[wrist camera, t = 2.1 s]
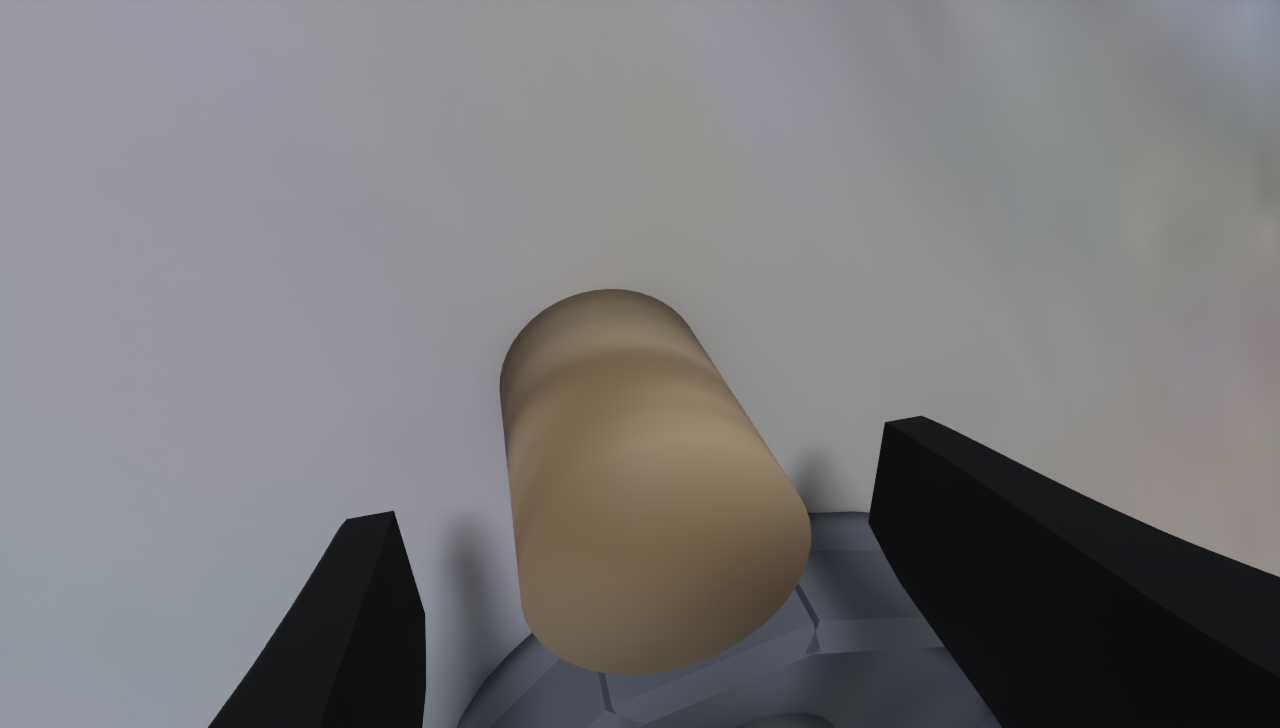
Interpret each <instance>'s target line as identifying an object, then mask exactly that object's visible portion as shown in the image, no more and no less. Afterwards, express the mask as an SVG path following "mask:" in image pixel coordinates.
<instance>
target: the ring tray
mask: <svg viewBox="0 0 1280 728" xmlns="http://www.w3.org/2000/svg"><path fill="white" fill-rule="evenodd" d="M869 515H870V513H866V512H833V513H811V514H808V516H809V519H810V526H811V547H810V552H809V557H808V561H807V564H806V567H805V569H804V572H803V574H802V576H801V578H800V580H799V582H798V584H797V586H796V588H795V589H794V591H793V592H792V594H791V595H790V597H789V598H788V599H787V601H786V602H785V603H784V604H783V605H782V607H781V608H780V609H779V610H778V611H777V612H776V613H775V614H774V615H773V616H772V617H771V618H770V619H769V620H768V621H767V622H766V623H765V624H764V625H762V626H761V627H760V628H759V629H758V630H756V631H755V632H754V633H753V634H751V635H750V636H748V637H747V638H745V639H744V640H742V641H741V642H739V643H738V644H736V645H734V646H732V647H731V648H729V649H727V650H725V651H724V652H721V653H719V654H717V655H715V656H713V657H711V658H709V659H706V660H703V661H701V662H698V663H695V664H692V665H689V666H686V667H682V668H678V669H675V670H670V671H665V672H660V673H652V674H643V675H618V674H606V673H601V672H596V671H591V670H588V669H584V668H581V667H578V666H575V665H573V664H571V663H569V662H567V661H564V660H562V659H561V658H559V657H558V656H556V655H555V654H553V653H552V652H550V651H549V650H548V649H547V648H546V647H545V646H544V645H542V644H541V643H540V641H539V640H538V639H537V638H536V636H535V635H534V634H533V633H532V634H531V635H530V636H528V637H527V638H526V639H525V640H524V641H523V642H522V643H521V644H520V645H518V646H517V647H516V648H515V649H514V650H513V651H512V652H511V653H510V654H509V655H508V656H507V657H506V658H505V659H504V660H503V662H502V663H501V664H500V665H499V666H498V667H497V668H496V670H495V671H494V672H493V673H492V674H491V675H490V676H489V678H488V679H487V680H486V681H485V682H484V683H483V684H482V686H481V687H480V689H479V690H478V692H477V694H476V695H475V697H474V698H473V700H472V701H471V703H470V704H469V706H468V707H467V709H466V710H465V712H464V713H463V715H462V717H461V719H460V721H459V724H458V726H457V728H1002V727H1001V725H1000V724H999V722H998V721H997V719H996V718H995V716H994V715H993V713H992V712H991V710H990V709H989V708H988V706H987V705H986V703H985V702H984V701H983V699H982V698H981V696H980V695H979V694H978V692H977V691H976V689H975V688H974V687H973V685H972V684H971V682H970V681H969V680H968V678H967V677H966V675H965V674H964V673H963V671H962V670H961V668H960V667H959V666H958V664H957V663H956V661H955V660H954V659H953V657H952V656H951V655H950V653H949V652H948V650H947V649H946V648H945V646H944V645H943V643H942V642H941V641H940V639H939V638H938V636H937V635H936V634H935V632H934V631H933V629H932V628H931V627H930V625H929V624H928V622H927V621H926V619H925V618H924V617H923V615H922V614H921V612H920V611H919V609H918V608H917V607H916V605H915V604H914V602H913V601H912V600H911V598H910V597H909V595H908V594H907V592H906V591H905V589H904V588H903V586H902V585H901V583H900V582H899V580H898V579H897V577H896V575H895V573H894V571H893V570H892V568H891V566H890V564H889V562H888V561H887V559H886V557H885V555H884V553H883V551H882V549H881V547H880V545H879V543H878V541H877V539H876V537H875V535H874V534H873V532H872V530H871V528H870V526H869V524H868V521H869Z"/></svg>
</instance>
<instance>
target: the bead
mask: <svg viewBox="0 0 1280 728" xmlns="http://www.w3.org/2000/svg"><path fill="white" fill-rule="evenodd" d="M500 399H501V409H502V418H503V428H504V438H505V448H506V458H507V468H508V477H509V487H510V497H511V507H512V517H513V527H514V536H515V546H516V556H517V566H518V576H519V586H520V595H521V605H522V609H523V613H524V616H525V619H526V621H527V623H528V625H529V627H530V629H531V631H532V633H533V634H534V635H535V636H536V638H537V639H538V640H539V641H540V643H541V644H542V645H544V646H545V647H546V648H547V649H548V650H549V651H550V652H552V653H553V654H555V655H556V656H558V657H559V658H561V659H562V660H564V661H567V662H569V663H571V664H573V665H575V666H578V667H581V668H584V669H588V670H591V671H596V672H601V673H606V674H618V675H643V674H652V673H660V672H665V671H670V670H675V669H678V668H682V667H686V666H689V665H692V664H695V663H698V662H701V661H703V660H706V659H709V658H711V657H713V656H715V655H717V654H719V653H721V652H724V651H725V650H727V649H729V648H731V647H732V646H734V645H736V644H738V643H739V642H741V641H742V640H744V639H745V638H747V637H748V636H750V635H751V634H753V633H754V632H755V631H756V630H758V629H759V628H760V627H761V626H762V625H764V624H765V623H766V622H767V621H768V620H769V619H770V618H771V617H772V616H773V615H774V614H775V613H776V612H777V611H778V610H779V609H780V608H781V607H782V605H783V604H784V603H785V602H786V601H787V599H788V598H789V597H790V595H791V594H792V592H793V591H794V589H795V588H796V586H797V584H798V582H799V580H800V578H801V576H802V574H803V572H804V569H805V567H806V564H807V561H808V557H809V552H810V547H811V526H810V519H809V516H808V513H807V510H806V507H805V505H804V503H803V501H802V499H801V498H800V496H799V494H798V492H797V491H796V489H795V488H794V486H793V485H792V483H791V482H790V480H789V479H788V477H787V476H786V474H785V473H784V471H783V469H782V468H781V466H780V465H779V463H778V462H777V460H776V459H775V457H774V456H773V454H772V453H771V451H770V450H769V448H768V446H767V445H766V443H765V442H764V440H763V439H762V437H761V436H760V434H759V433H758V431H757V430H756V428H755V427H754V425H753V423H752V422H751V420H750V419H749V417H748V416H747V414H746V413H745V411H744V410H743V408H742V407H741V405H740V404H739V402H738V400H737V399H736V397H735V396H734V394H733V393H732V391H731V390H730V388H729V387H728V385H727V384H726V382H725V381H724V379H723V377H722V376H721V374H720V373H719V371H718V370H717V368H716V367H715V365H714V364H713V362H712V361H711V359H710V358H709V356H708V354H707V353H706V351H705V350H704V348H703V347H702V345H701V344H700V342H699V341H698V339H697V338H696V336H695V335H694V333H693V331H692V330H691V328H690V327H689V325H688V324H687V323H686V322H685V321H684V319H683V318H682V317H681V316H680V315H679V314H678V313H677V312H676V311H675V310H673V309H672V308H671V307H669V306H668V305H666V304H665V303H663V302H662V301H660V300H657V299H655V298H653V297H651V296H648V295H645V294H642V293H639V292H634V291H629V290H620V289H604V290H594V291H589V292H584V293H580V294H577V295H574V296H571V297H568V298H566V299H563V300H561V301H559V302H557V303H555V304H553V305H552V306H550V307H548V308H547V309H545V310H544V311H542V312H541V313H540V314H538V315H537V316H536V317H535V318H533V319H532V320H531V321H530V322H529V323H528V324H527V325H526V326H525V327H524V328H523V329H522V330H521V332H520V333H519V335H518V336H517V337H516V339H515V340H514V341H513V343H512V345H511V347H510V349H509V351H508V352H507V355H506V358H505V360H504V363H503V366H502V371H501V376H500Z"/></svg>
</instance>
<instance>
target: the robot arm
mask: <svg viewBox="0 0 1280 728" xmlns="http://www.w3.org/2000/svg"><path fill="white" fill-rule="evenodd" d="M868 524H869V526H870V528H871V530H872V532H873V534H874V535H875V537H876V539H877V541H878V543H879V545H880V547H881V549H882V551H883V553H884V555H885V557H886V559H887V561H888V562H889V564H890V566H891V568H892V570H893V571H894V573H895V575H896V577H897V579H898V580H899V582H900V583H901V585H902V586H903V588H904V589H905V591H906V592H907V594H908V595H909V597H910V598H911V600H912V601H913V602H914V604H915V605H916V607H917V608H918V609H919V611H920V612H921V614H922V615H923V617H924V618H925V619H926V621H927V622H928V624H929V625H930V627H931V628H932V629H933V631H934V632H935V634H936V635H937V636H938V638H939V639H940V641H941V642H942V643H943V645H944V646H945V648H946V649H947V650H948V652H949V653H950V655H951V656H952V657H953V659H954V660H955V661H956V663H957V664H958V666H959V667H960V668H961V670H962V671H963V673H964V674H965V675H966V677H967V678H968V680H969V681H970V682H971V684H972V685H973V687H974V688H975V689H976V691H977V692H978V694H979V695H980V696H981V698H982V699H983V701H984V702H985V703H986V705H987V706H988V708H989V709H990V710H991V712H992V713H993V715H994V716H995V718H996V719H997V721H998V722H999V724H1000V725H1001V727H1002V728H1280V577H1278V576H1275V575H1273V574H1270V573H1267V572H1264V571H1262V570H1259V569H1257V568H1254V567H1251V566H1249V565H1246V564H1244V563H1241V562H1238V561H1236V560H1233V559H1231V558H1228V557H1225V556H1223V555H1220V554H1218V553H1215V552H1212V551H1210V550H1207V549H1205V548H1202V547H1199V546H1197V545H1195V544H1192V543H1190V542H1187V541H1185V540H1183V539H1180V538H1178V537H1175V536H1173V535H1171V534H1168V533H1166V532H1164V531H1161V530H1159V529H1157V528H1155V527H1152V526H1150V525H1148V524H1146V523H1143V522H1141V521H1139V520H1137V519H1134V518H1132V517H1130V516H1128V515H1125V514H1123V513H1121V512H1119V511H1117V510H1114V509H1112V508H1110V507H1108V506H1106V505H1104V504H1101V503H1099V502H1097V501H1095V500H1093V499H1091V498H1089V497H1087V496H1085V495H1082V494H1080V493H1078V492H1076V491H1074V490H1072V489H1070V488H1068V487H1066V486H1064V485H1062V484H1060V483H1058V482H1056V481H1054V480H1052V479H1050V478H1048V477H1046V476H1044V475H1042V474H1040V473H1038V472H1036V471H1034V470H1032V469H1030V468H1028V467H1026V466H1024V465H1022V464H1020V463H1018V462H1016V461H1014V460H1012V459H1010V458H1008V457H1006V456H1004V455H1002V454H1000V453H998V452H996V451H994V450H992V449H990V448H988V447H986V446H984V445H982V444H980V443H978V442H976V441H974V440H972V439H970V438H968V437H966V436H964V435H962V434H960V433H958V432H956V431H954V430H952V429H950V428H948V427H946V426H944V425H942V424H939V423H937V422H935V421H933V420H930V419H928V418H926V417H923V416H917V417H912V418H906V419H901V420H895V421H890V422H885V426H884V432H883V437H882V443H881V449H880V455H879V461H878V467H877V473H876V479H875V485H874V491H873V497H872V503H871V509H870V515H869V521H868ZM425 693H426V634H425V612H424V609H423V606H422V602H421V599H420V596H419V592H418V589H417V586H416V582H415V579H414V576H413V573H412V569H411V566H410V563H409V559H408V556H407V553H406V549H405V546H404V543H403V539H402V536H401V533H400V530H399V526H398V523H397V520H396V516H395V513H394V511H390V512H384V513H379V514H373V515H368V516H362V517H357V518H351V519H346V521H345V522H344V523H343V524H342V525H341V527H340V528H339V530H338V531H337V533H336V535H335V536H334V538H333V540H332V541H331V543H330V545H329V546H328V548H327V550H326V551H325V553H324V555H323V556H322V558H321V560H320V561H319V563H318V565H317V566H316V568H315V570H314V571H313V573H312V574H311V576H310V578H309V579H308V581H307V583H306V584H305V586H304V587H303V589H302V591H301V592H300V594H299V595H298V597H297V599H296V600H295V602H294V603H293V605H292V607H291V608H290V610H289V611H288V613H287V614H286V616H285V617H284V619H283V620H282V622H281V623H280V625H279V626H278V628H277V629H276V631H275V632H274V634H273V635H272V637H271V638H270V640H269V641H268V643H267V644H266V646H265V648H264V649H263V651H262V652H261V654H260V655H259V657H258V658H257V660H256V661H255V663H254V664H253V665H252V667H251V668H250V670H249V671H248V673H247V674H246V676H245V677H244V678H243V680H242V681H241V683H240V684H239V685H238V687H237V688H236V689H235V691H234V692H233V694H232V695H231V696H230V698H229V699H228V700H227V702H226V703H225V705H224V706H223V707H222V709H221V710H220V711H219V713H218V714H217V716H216V717H215V718H214V720H213V721H212V722H211V724H210V725H209V727H208V728H422V724H423V714H424V704H425Z"/></svg>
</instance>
